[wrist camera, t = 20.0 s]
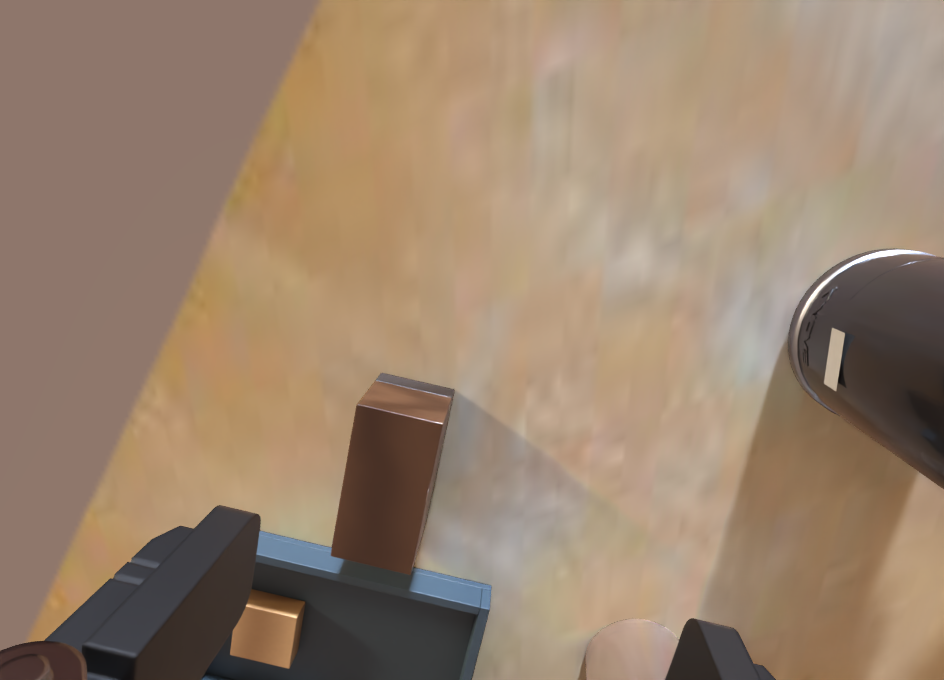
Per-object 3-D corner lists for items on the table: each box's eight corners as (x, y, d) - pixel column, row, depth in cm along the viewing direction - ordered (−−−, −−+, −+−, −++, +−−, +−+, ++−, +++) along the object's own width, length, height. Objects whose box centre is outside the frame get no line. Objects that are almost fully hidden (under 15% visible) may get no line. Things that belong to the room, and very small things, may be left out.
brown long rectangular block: (454, 389, 35) (443, 424, 30) (426, 521, 38) (410, 575, 32) (381, 372, 36) (356, 404, 30) (356, 505, 38) (330, 556, 33)
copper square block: (305, 601, 39) (296, 618, 38) (298, 651, 40) (289, 669, 39) (246, 587, 39) (235, 603, 38) (240, 637, 40) (229, 655, 39)
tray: (491, 585, 38) (489, 609, 36) (453, 733, 42) (449, 764, 39) (218, 520, 39) (199, 540, 37) (200, 672, 42) (182, 698, 40)
